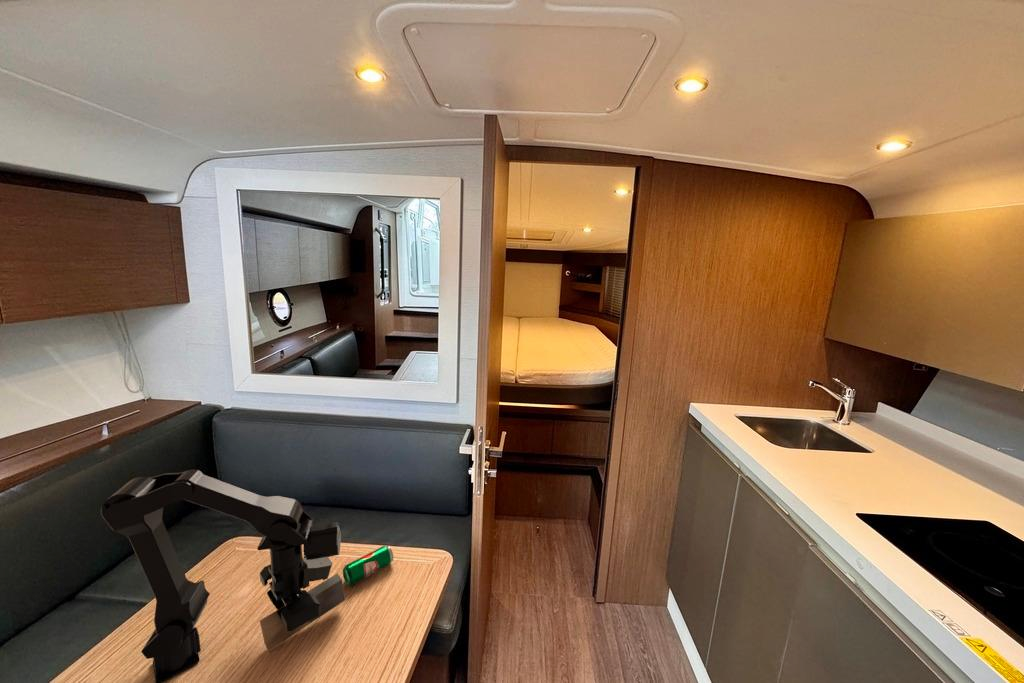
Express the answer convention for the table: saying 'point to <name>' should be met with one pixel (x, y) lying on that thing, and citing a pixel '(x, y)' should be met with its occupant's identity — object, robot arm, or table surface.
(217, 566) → the table surface
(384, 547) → the soda can
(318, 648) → the table surface
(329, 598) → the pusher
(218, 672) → the table surface
